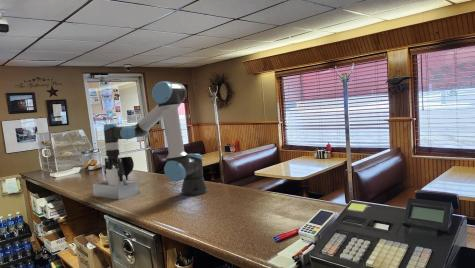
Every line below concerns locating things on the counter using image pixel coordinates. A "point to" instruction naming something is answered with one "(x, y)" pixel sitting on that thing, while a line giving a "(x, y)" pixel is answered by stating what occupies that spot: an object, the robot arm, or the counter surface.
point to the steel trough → (116, 190)
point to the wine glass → (127, 165)
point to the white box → (112, 177)
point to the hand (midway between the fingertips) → (115, 185)
